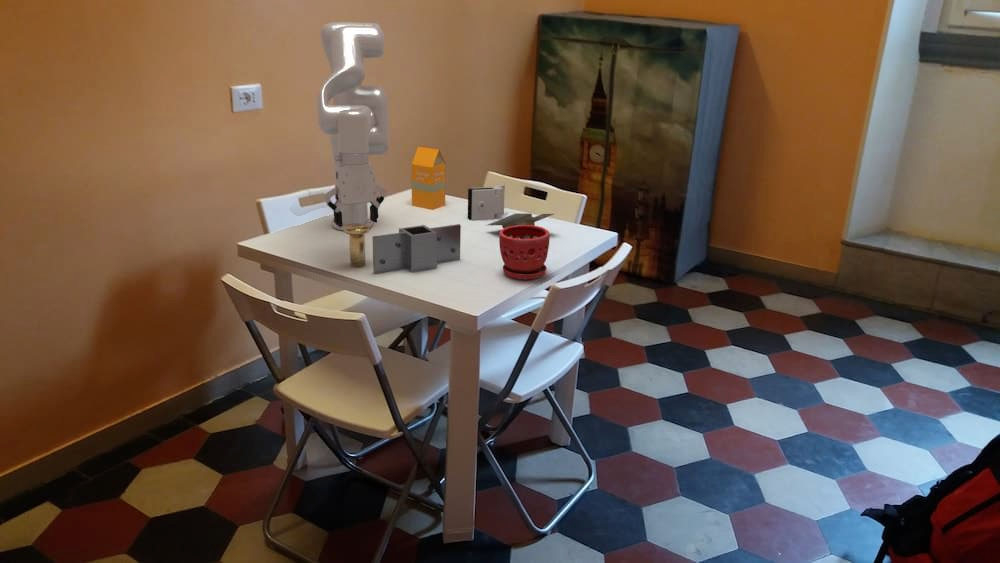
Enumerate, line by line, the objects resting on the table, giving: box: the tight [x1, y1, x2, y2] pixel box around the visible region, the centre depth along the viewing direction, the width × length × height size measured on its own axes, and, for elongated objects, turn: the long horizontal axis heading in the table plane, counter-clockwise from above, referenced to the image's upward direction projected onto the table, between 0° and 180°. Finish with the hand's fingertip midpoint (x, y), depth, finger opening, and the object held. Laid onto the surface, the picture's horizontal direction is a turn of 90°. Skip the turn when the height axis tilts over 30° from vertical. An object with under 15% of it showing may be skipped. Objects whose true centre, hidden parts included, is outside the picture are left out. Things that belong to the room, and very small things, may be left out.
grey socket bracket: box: [372, 223, 462, 275], centre depth 209 cm, size 8×26×10 cm, turn 122°
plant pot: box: [498, 225, 550, 281], centre depth 206 cm, size 13×13×12 cm
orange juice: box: [410, 145, 447, 211], centre depth 264 cm, size 8×9×20 cm
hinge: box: [467, 184, 506, 222], centre depth 255 cm, size 14×5×10 cm, turn 119°
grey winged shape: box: [485, 212, 555, 237], centre depth 238 cm, size 16×9×15 cm
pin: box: [343, 223, 370, 268], centre depth 209 cm, size 7×7×11 cm
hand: (356, 223), depth 206 cm, fingers open, 9 cm apart
